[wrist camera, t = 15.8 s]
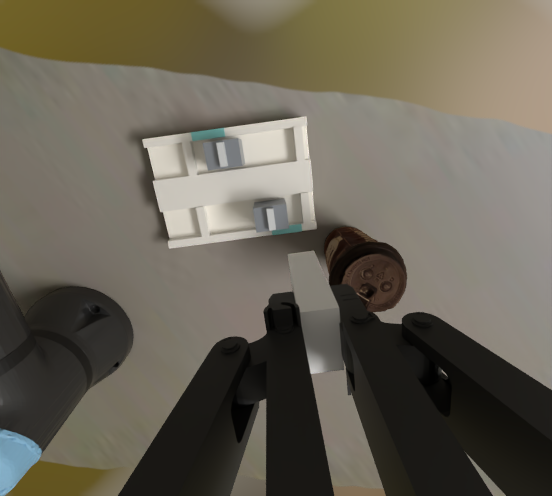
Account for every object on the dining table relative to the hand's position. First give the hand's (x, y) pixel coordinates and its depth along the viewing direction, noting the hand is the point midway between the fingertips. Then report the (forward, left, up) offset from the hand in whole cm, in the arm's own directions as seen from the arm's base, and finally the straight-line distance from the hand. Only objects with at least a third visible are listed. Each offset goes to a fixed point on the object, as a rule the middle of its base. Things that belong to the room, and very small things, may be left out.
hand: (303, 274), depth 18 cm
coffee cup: (+8, -8, -27) cm, 29 cm away
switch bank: (-6, +3, -26) cm, 27 cm away
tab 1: (-6, +7, -25) cm, 27 cm away
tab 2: (-2, -1, -25) cm, 25 cm away
